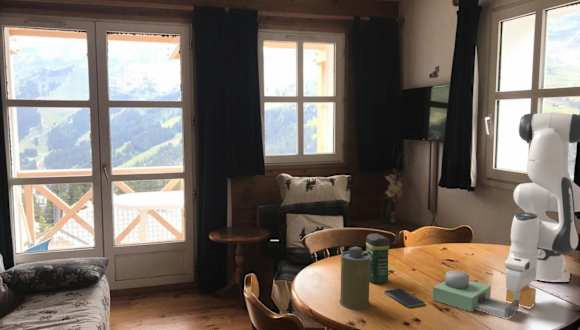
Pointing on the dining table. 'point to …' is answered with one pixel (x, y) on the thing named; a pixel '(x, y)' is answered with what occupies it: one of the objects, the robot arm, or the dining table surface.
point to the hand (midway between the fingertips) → (520, 297)
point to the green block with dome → (460, 291)
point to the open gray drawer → (498, 307)
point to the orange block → (523, 296)
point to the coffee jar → (378, 257)
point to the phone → (404, 298)
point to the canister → (355, 278)
